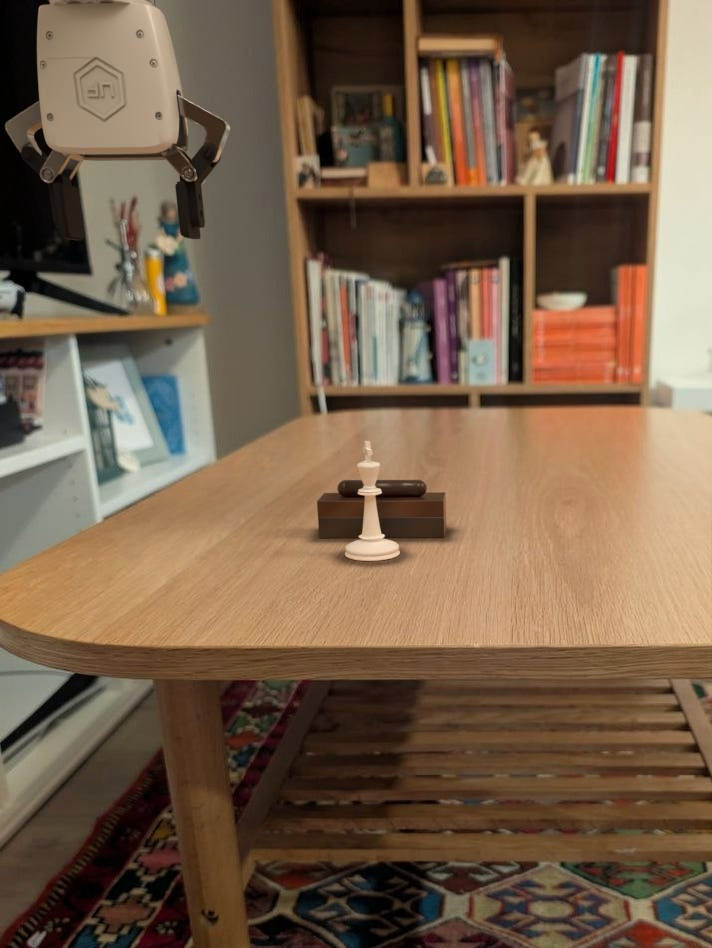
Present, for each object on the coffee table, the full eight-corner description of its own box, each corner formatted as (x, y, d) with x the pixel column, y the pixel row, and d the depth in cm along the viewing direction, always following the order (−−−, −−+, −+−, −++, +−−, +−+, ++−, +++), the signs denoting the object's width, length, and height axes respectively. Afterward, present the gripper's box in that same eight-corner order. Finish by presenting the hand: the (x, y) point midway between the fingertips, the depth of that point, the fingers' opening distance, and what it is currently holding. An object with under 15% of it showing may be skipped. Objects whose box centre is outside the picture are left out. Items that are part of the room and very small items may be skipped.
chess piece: (392, 545, 88) (387, 436, 84) (406, 558, 83) (402, 443, 80) (339, 550, 86) (333, 439, 83) (351, 563, 82) (345, 446, 78)
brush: (319, 538, 91) (315, 484, 89) (326, 528, 94) (322, 476, 93) (444, 537, 90) (443, 483, 89) (446, 528, 94) (445, 476, 92)
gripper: (-40, -23, 67) (3, 237, 73) (201, -27, 67) (225, 235, 73) (11, 7, 74) (47, 242, 80) (229, 4, 74) (249, 240, 80)
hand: (131, 238), depth 77 cm, fingers open, 9 cm apart
